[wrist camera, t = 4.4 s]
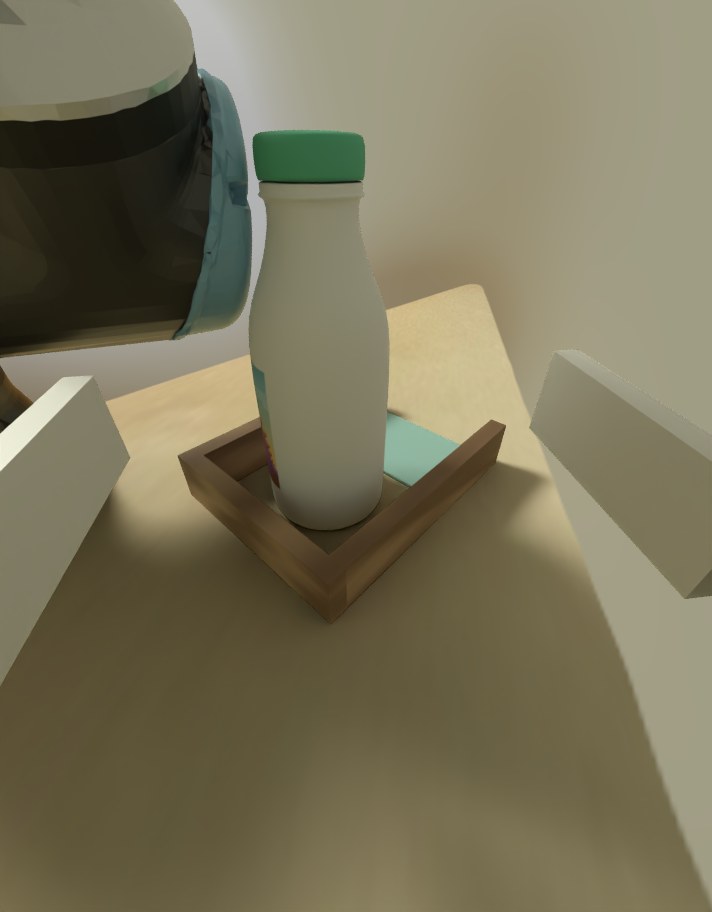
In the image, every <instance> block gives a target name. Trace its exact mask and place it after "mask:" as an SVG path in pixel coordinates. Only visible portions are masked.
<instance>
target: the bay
mask: <svg viewBox="0 0 712 912" xmlns="http://www.w3.org/2000/svg"><path fill="white" fill-rule="evenodd" d="M505 428H506V425H504V424H501V423H499V422H496V421H494V420H490V421H489V422H488V423H487V424H485V425H484V426H483V427H482V428H481V429H479V430H478V431H477V432H476V433H475V434H473V435H472V436H471V437H470V438H469V439H467V440H466V441H465V442H464V443H463V444H461V445H460V446H459V447H458V448H457V449H455V450H454V451H453V452H452V453H451V454H449V455H448V456H447V457H446V458H445V459H443V460H442V461H441V462H440V463H439V464H437V465H436V466H435V467H434V468H433V469H431V470H430V471H429V472H428V473H427V474H425V475H424V476H423V477H422V478H421V479H419V480H418V481H417V482H416V483H415V484H413V485H412V486H411V487H410V488H409V489H407V490H406V491H405V492H404V493H403V494H401V495H400V496H399V497H398V498H397V499H395V500H394V501H393V502H392V503H391V504H389V505H388V506H387V507H386V508H385V509H383V510H382V511H381V512H380V513H379V514H377V515H376V516H375V517H374V518H373V519H371V520H370V521H369V522H368V523H367V524H365V525H364V526H363V527H362V528H361V529H359V530H358V531H357V532H356V533H355V534H353V535H352V536H351V537H350V538H349V539H347V540H346V541H345V542H344V543H343V544H341V545H340V546H339V547H338V548H337V549H335V550H334V551H333V552H332V553H331V554H329V555H328V554H327V553H326V552H325V551H323V550H322V549H321V548H320V547H318V546H317V545H316V544H315V543H313V542H312V541H311V540H310V539H308V538H307V537H306V536H304V535H303V534H302V533H301V532H299V531H298V530H297V529H296V528H294V527H293V526H292V525H291V524H289V523H288V522H287V521H286V520H284V519H283V518H282V517H281V516H279V515H278V514H277V513H276V512H274V511H273V510H272V509H271V508H269V507H268V506H267V505H265V504H264V503H263V502H262V501H260V500H259V499H258V498H257V497H255V496H254V495H253V494H252V493H250V492H249V491H248V490H247V489H245V488H244V487H243V486H242V485H240V484H239V483H238V482H237V481H238V480H240V479H242V478H243V477H245V476H247V475H249V474H250V473H252V472H254V471H256V470H258V469H259V468H261V467H263V466H265V465H266V464H268V461H267V456H266V450H265V444H264V439H263V433H262V427H261V421H260V417H259V418H257V419H254V420H252V421H250V422H248V423H246V424H244V425H242V426H240V427H237V428H235V429H233V430H231V431H229V432H227V433H225V434H223V435H220V436H218V437H216V438H214V439H212V440H210V441H208V442H206V443H203V444H201V445H199V446H197V447H195V448H193V449H191V450H189V451H186V452H184V453H182V454H180V455H178V458H179V461H180V464H181V467H182V470H183V472H184V475H185V478H186V481H187V484H188V486H189V489H190V492H191V494H192V495H193V496H194V497H195V498H196V499H197V500H198V501H199V502H200V503H201V504H202V505H203V506H205V507H206V508H207V509H208V510H209V511H210V512H211V513H212V514H213V515H214V516H215V517H216V518H217V519H219V520H220V521H221V522H222V523H223V524H224V525H225V526H226V527H227V528H228V529H229V530H230V531H231V532H233V533H234V534H235V535H236V536H237V537H238V538H239V539H240V540H241V541H242V542H243V543H244V544H245V545H246V546H248V547H249V548H250V549H251V550H252V551H253V552H254V553H255V554H256V555H257V556H258V557H259V558H260V559H262V560H263V561H264V562H265V563H266V564H267V565H268V566H269V567H270V568H271V569H272V570H273V571H274V572H276V573H277V574H278V575H279V576H280V577H281V578H282V579H283V580H284V581H285V582H286V583H287V584H288V585H290V586H291V587H292V588H293V589H294V590H295V591H296V592H297V593H298V594H299V595H300V596H301V597H302V598H303V599H305V600H306V601H307V602H308V603H309V604H310V605H311V606H312V607H313V608H314V609H315V610H316V611H317V612H319V613H320V614H321V615H322V616H323V617H324V618H325V619H326V620H327V621H328V622H329V623H330V624H332V623H333V622H334V621H335V620H336V619H337V618H338V617H339V616H340V615H341V614H342V613H343V612H344V611H345V610H346V609H347V608H348V607H349V606H350V605H351V604H352V603H353V602H354V601H355V600H356V599H357V598H358V597H359V596H360V595H361V594H362V593H363V592H364V591H365V590H366V589H367V588H368V587H369V586H370V585H371V584H372V583H373V582H374V581H375V580H376V579H377V578H378V577H379V576H381V575H382V574H383V573H384V572H385V571H386V570H387V569H388V568H389V567H390V566H391V565H392V564H393V563H394V562H395V561H396V560H397V559H398V558H399V557H400V556H401V555H402V554H403V553H404V552H405V551H406V550H407V549H408V548H409V547H410V546H411V545H412V544H413V543H414V542H415V541H416V540H417V539H418V538H419V537H420V536H421V535H422V534H423V533H424V532H425V531H426V530H427V529H428V528H429V527H430V526H431V525H432V524H433V523H434V522H435V521H436V520H437V519H438V518H439V517H440V516H441V515H442V514H443V513H444V512H446V511H447V510H448V509H449V508H450V507H451V506H452V505H453V504H454V503H455V502H456V501H457V500H458V499H459V498H460V497H461V496H462V495H463V494H464V493H465V492H466V491H467V490H468V489H469V488H470V487H471V486H472V485H473V484H474V483H475V482H476V481H477V480H478V479H479V478H480V477H481V476H482V475H483V474H484V473H485V472H486V471H487V470H488V469H489V468H490V467H491V466H492V465H493V464H494V463H495V462H496V459H497V456H498V452H499V449H500V445H501V442H502V438H503V435H504V431H505Z"/></svg>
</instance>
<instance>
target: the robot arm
mask: <svg viewBox="0 0 712 912" xmlns="http://www.w3.org/2000/svg"><path fill="white" fill-rule="evenodd" d="M247 194H248V172H247V161H246V153H245V146H244V140H243V136H242V130H241V125H240V120H239V117H238V113H237V109H236V106H235V103H234V100H233V98H232V95H231V93H230V91H229V89H228V87H227V86H226V85H225V84H224V83H223V82H222V81H221V80H220V79H218V78H216V77H214V76H211V75H210V74H209V73H208V72H207V71H205V70H204V69H198V68H197V65H196V58H195V52H194V44H193V39H192V33H191V28H190V26H189V23H188V21H187V19H186V17H185V16H184V14H183V13H182V11H181V9H180V8H179V7H178V5H177V4H176V3H175V2H174V0H0V358H4V357H13V356H21V355H31V354H41V353H49V352H59V351H67V350H68V351H69V350H78V349H87V348H96V347H106V346H115V345H125V344H134V343H143V342H153V341H162V340H180V339H182V338H184V337H185V336H187V335H192V334H197V333H203V332H208V331H213V330H218V329H223V328H225V327H228V326H230V325H231V324H233V323H234V322H235V321H236V320H237V319H238V318H239V316H240V315H241V313H242V311H243V309H244V307H245V304H246V301H247V297H248V292H249V286H250V277H251V260H252V258H251V256H252V225H251V210H250V207H249V204H248V201H247ZM529 428H530V429H531V430H532V431H533V432H534V434H535V435H536V436H537V437H538V438H539V439H540V440H541V441H542V442H543V443H544V445H545V446H546V447H547V448H548V449H549V450H550V451H551V452H552V453H553V454H554V456H555V457H556V458H557V459H558V460H559V461H560V462H561V463H562V464H563V465H564V467H565V468H566V469H567V470H568V471H569V472H570V473H571V474H572V475H573V477H574V478H575V479H576V480H577V481H578V482H579V483H580V484H581V485H582V486H583V487H584V488H585V490H586V491H587V492H588V493H589V494H590V495H591V496H592V497H593V498H594V500H595V501H596V502H597V503H598V504H599V505H600V506H601V507H602V508H603V510H604V511H605V512H606V513H607V514H608V515H609V516H610V517H611V518H612V519H613V521H614V522H615V523H616V524H617V525H618V526H619V527H620V528H621V529H622V531H624V533H625V534H626V535H627V536H628V537H629V538H630V539H631V540H632V541H633V542H634V544H635V545H636V546H637V547H638V548H639V549H640V550H641V551H642V552H643V554H644V555H645V556H646V557H647V558H648V559H649V560H650V561H651V562H652V564H653V565H654V566H655V567H656V568H657V569H658V570H659V571H660V572H661V573H662V575H663V576H664V577H665V578H666V579H667V580H668V581H669V582H670V583H671V585H672V586H673V587H674V588H675V589H676V590H677V591H678V592H679V593H680V594H681V596H682V597H683V598H684V599H689V598H697V597H704V596H712V435H711V434H709V433H708V432H706V431H704V430H703V429H701V428H700V427H698V426H697V425H695V424H693V423H692V422H690V421H689V420H687V419H686V418H684V417H683V416H681V415H679V414H678V413H676V412H675V411H673V410H672V409H670V408H668V407H667V406H665V405H664V404H662V403H661V402H659V401H657V400H656V399H654V398H653V397H651V396H649V395H648V394H646V393H645V392H643V391H642V390H640V389H639V388H637V387H635V386H634V385H632V384H631V383H629V382H628V381H626V380H624V379H623V378H621V377H619V376H618V375H617V374H615V373H614V372H612V371H610V370H609V369H607V368H605V367H604V366H603V365H601V364H599V363H598V362H596V361H595V360H593V359H592V358H590V357H588V356H587V355H585V354H584V353H582V352H581V351H579V350H559V351H554V352H553V355H552V358H551V361H550V364H549V368H548V371H547V374H546V377H545V380H544V383H543V386H542V389H541V393H540V396H539V399H538V402H537V405H536V408H535V411H534V414H533V417H532V421H531V424H530V427H529ZM129 459H130V456H129V454H128V452H127V449H126V447H125V445H124V443H123V440H122V438H121V436H120V434H119V431H118V429H117V427H116V425H115V423H114V420H113V418H112V416H111V414H110V411H109V409H108V407H107V405H106V403H105V400H104V398H103V396H102V394H101V391H100V389H99V387H98V385H97V383H96V380H95V378H94V376H78V377H63V378H62V379H60V380H59V381H58V382H57V383H56V384H55V385H54V386H53V387H52V388H51V389H49V390H48V391H47V392H46V393H45V394H44V395H43V396H42V397H40V398H39V399H38V400H37V401H36V402H35V403H33V402H32V401H31V400H30V399H29V398H28V397H26V396H25V395H24V394H23V393H22V392H21V391H19V390H18V389H17V388H16V387H15V386H14V385H13V384H12V383H11V382H10V380H9V379H8V377H7V375H6V374H5V372H4V371H3V369H2V368H1V366H0V686H1V684H2V682H3V680H4V679H5V677H6V675H7V673H8V672H9V670H10V668H11V666H12V665H13V663H14V661H15V659H16V658H17V656H18V654H19V652H20V650H21V649H22V647H23V645H24V643H25V642H26V640H27V638H28V636H29V635H30V633H31V631H32V629H33V628H34V626H35V624H36V622H37V621H38V619H39V617H40V615H41V614H42V612H43V610H44V608H45V607H46V605H47V603H48V601H49V600H50V598H51V596H52V594H53V593H54V591H55V589H56V587H57V585H58V584H59V582H60V580H61V578H62V577H63V575H64V573H65V571H66V570H67V568H68V566H69V564H70V563H71V561H72V559H73V557H74V556H75V554H76V552H77V550H78V549H79V547H80V545H81V543H82V542H83V540H84V538H85V536H86V535H87V533H88V531H89V529H90V528H91V526H92V524H93V522H94V520H95V519H96V517H97V515H98V513H99V512H100V510H101V508H102V506H103V505H104V503H105V501H106V499H107V498H108V496H109V494H110V492H111V491H112V489H113V487H114V485H115V484H116V482H117V480H118V478H119V477H120V475H121V473H122V471H123V470H124V468H125V466H126V464H127V462H128V461H129Z"/></svg>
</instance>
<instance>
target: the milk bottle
mask: <svg viewBox="0 0 712 912" xmlns="http://www.w3.org/2000/svg"><path fill="white" fill-rule="evenodd" d="M253 156H254V165H255V171H256V176H257V178H258V180H262V181H261V182H259V189H260V192H259V194H258V195H259V197H261V198H262V199H263V200H264V202H265V206H266V214H267V230H266V240H265V249H264V255H263V260H262V265H261V269H260V273H259V277H258V280H257V284H256V288H255V291H254V295H253V300H252V303H251V310H250V316H249V348H250V356H251V364H252V371H253V379H254V385H255V391H256V397H257V403H258V409H259V415H260V421H261V427H262V433H263V439H264V444H265V450H266V456H267V461H268V467H269V473H270V478H271V484H272V489H273V493H274V498H275V502H276V504H277V506H278V508H279V509H280V510H281V512H282V513H283V514H284V515H285V516H286V517H287V518H289V519H290V520H291V521H292V522H294V523H296V524H298V525H300V526H303V527H306V528H309V529H316V530H336V529H342V528H345V527H348V526H352V525H354V524H356V523H358V522H360V521H362V520H363V519H364V518H365V517H367V516H368V515H369V514H370V513H371V512H372V511H373V510H374V508H375V507H376V506H377V504H378V502H379V500H380V498H381V493H382V484H383V471H384V455H385V438H386V422H387V402H388V382H389V330H388V321H387V315H386V311H385V307H384V303H383V300H382V297H381V294H380V291H379V288H378V286H377V283H376V281H375V279H374V275H373V273H372V270H371V267H370V265H369V261H368V259H367V255H366V251H365V247H364V244H363V239H362V234H361V230H360V223H359V201H360V199H361V198H362V197H363V196H364V192H363V183H362V182H361V181H360V180H363V178H364V173H365V172H364V171H365V145H364V140H363V137H362V136H360V135H358V134H356V133H350V132H340V131H320V130H284V131H269V132H260V133H258V134H256V135H255V136H254V137H253Z"/></svg>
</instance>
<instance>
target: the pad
mask: <svg viewBox="0 0 712 912" xmlns="http://www.w3.org/2000/svg"><path fill="white" fill-rule="evenodd" d="M459 446H460V444H457V443H455V442H453V441H451V440H449V439H446V438H444V437H442V436H440V435H438V434H435V433H433V432H431V431H429V430H427V429H424V428H422V427H420V426H418V425H416V424H413V423H411V422H409V421H407V420H405V419H402V418H400V417H398V416H396V415H394V414H391V413H389V412H387V422H386V438H385V455H384V471H383V473H385V474H387V475H389V476H390V477H392V478H394V479H396V480H398V481H399V482H401V483H403V484H405V485H406V486H408V487H411V486H412V485H413V484H415V483H416V482H417V481H418V480H419V479H421V478H422V477H423V476H424V475H425V474H427V473H428V472H429V471H430V470H431V469H433V468H434V467H435V466H436V465H437V464H439V463H440V462H441V461H442V460H443V459H445V458H446V457H447V456H448V455H449V454H451V453H452V452H453V451H454V450H455V449H457V448H458V447H459Z"/></svg>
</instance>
